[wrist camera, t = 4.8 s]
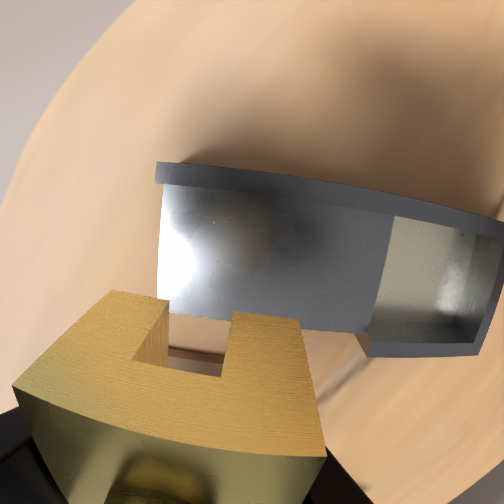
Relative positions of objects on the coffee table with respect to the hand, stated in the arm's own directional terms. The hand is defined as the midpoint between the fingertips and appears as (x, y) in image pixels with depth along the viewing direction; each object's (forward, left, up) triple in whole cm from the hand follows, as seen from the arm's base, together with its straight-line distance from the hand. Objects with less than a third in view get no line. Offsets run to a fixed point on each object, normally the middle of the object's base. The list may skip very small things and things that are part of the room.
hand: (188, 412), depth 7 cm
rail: (+6, +1, -12) cm, 14 cm away
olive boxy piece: (0, 0, -1) cm, 1 cm away
